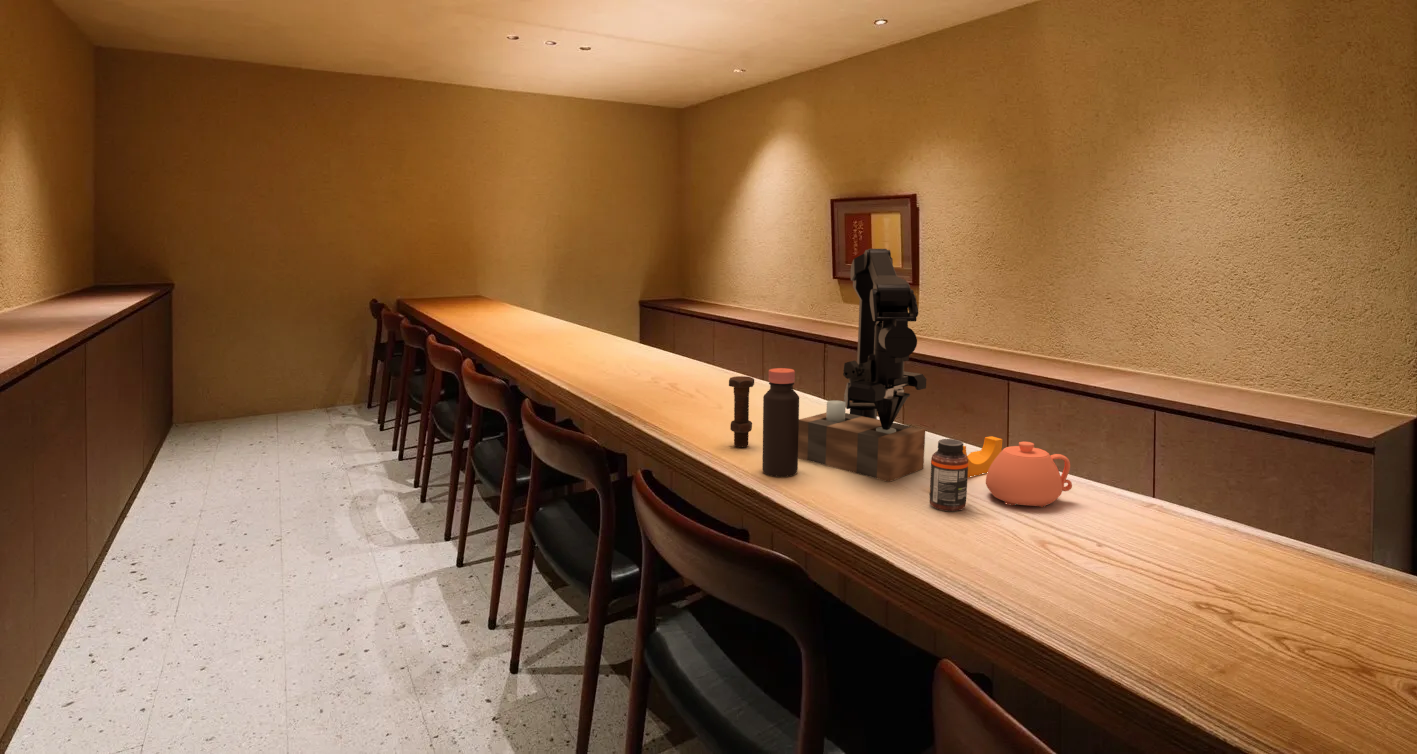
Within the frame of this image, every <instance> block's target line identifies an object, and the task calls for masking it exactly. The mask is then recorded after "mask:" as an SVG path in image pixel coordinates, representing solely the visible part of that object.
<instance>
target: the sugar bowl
mask: <svg viewBox="0 0 1417 754" xmlns="http://www.w3.org/2000/svg"><path fill="white" fill-rule="evenodd" d="M1054 460H1063V462H1064V467H1063V470H1062V473H1060V471H1059V468H1058V466H1057V465H1056V463H1055V462H1054ZM1070 469H1071V462H1070V459H1069V458H1068V457H1067V456H1065V455H1064V454H1060V453H1054V454H1051V455H1050V453H1049V452H1047V450H1044V449H1041V448H1039V447H1035V443H1034V442H1030V441H1019V442H1018V445H1012V446H1011V445H1010V446H1007V447H1005V448H1002V451H1001V452H1000V453H999V455H998V456H997V457H996V458H995V460H994V461H993V463H992V464H991V466H990V468H989V470H988V473H987V474H986V477H985V485H986V487H987V490H988V491H990V493H991V494H992V496H993V497H994V498H996V499H998V500H1000V501H1003V502H1004V504H1005V503H1007V504H1011V505H1010V506H1016V505H1015V504H1017V505H1021V506H1033V507H1034V506H1035V507H1038V506H1042V507H1041V508H1044V507H1043V506H1046V507H1047V505H1050V504H1052V503H1053V502H1054V501H1057V500H1058V498H1060V496H1061V495H1062V493H1063V492H1068V491H1071V490H1072V488H1073V484H1072V481H1071V479H1067V477H1068V476H1069V473H1070ZM1065 484H1067V485H1065ZM1007 504H1006V505H1007Z"/></svg>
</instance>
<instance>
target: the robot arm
mask: <svg viewBox="0 0 1417 754" xmlns="http://www.w3.org/2000/svg"><path fill="white" fill-rule="evenodd" d="M891 254H892V252H891V250H890V249H887V248H868V249H865V251H864V252H863V253H862V254H860V255H858V256H856V257H855V258H853V260H852V262H851V264H850V265H851V266H850V276H849V277H850V281H852V288H853V290H854V292H855V293H856V295H857V297H858V298H859V304H858V305H859V306H858V307H859V308H858V329H857V330H858V331H857V355H856V356H857V359H856V360H851V361H847V362H844V365H843V373H842V375H843V377H844V378H845V379H847V380H848V382H846V385H845V390H844V394H843V399H844V400H843V401H844V402H846V408H845V410H846V409H847V410H849V414H853V415H858V416H863V417H868V418H873V419H878V418H879V419H878V420H880V422H881V426H882V429H884V430H889V429H890V427H891V425H892V424H893V423H895V420H896V418H897V416H898V414H899V413H900V411H901V409H902V407H903V406H904V404H905V403H906V401H907V399H908V398H909V397H910V396H911V394H910V393H909V392H905V389H904V387H914V388H915V390H917V391H921V390H924V389H927V378H926V376H925V375H924V374H923V373H919V372H913V371H912V372H910V371H905V362H908V361H910V355H911V354H913V353H914V352H915V350H916V349H917V346H918V345H917V344H918V338H917V335H916V333H915V331H914V330H913V329H911V328H910V327H909V322H913V323H915V322H917V318H918V316H919V312H920V311H919V307H918V301H917V297H916V295H915V292H914V290H913V288H911V285H910V284H909V282H908V281H907V280H906V279H904V278H901V277H898V275H897V272H896V270H895V267H894V262H893V257H892V255H891Z"/></svg>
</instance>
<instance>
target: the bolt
mask: <svg viewBox="0 0 1417 754" xmlns="http://www.w3.org/2000/svg"><path fill="white" fill-rule="evenodd" d="M754 385H755V378H754V377H751V376H745V375H744V376H743V375H741V376H738V375H737V376H732V377H729V380H728V387H731V388H732V387H733V395H734V396H733V404H734V405H733V406H734V407H733V417H734V419H733V420H732V421H731V422H730V427H729V428H730V431H731V432H733V446H734V447H735V448H747V447H749V438H750V437H749V433H750V432H751V431H752V429H753V422H752V421H751V420H749V418H750V417H749V416H750V414H749V413H750V410H749V409H750V408H749V406H750V403H749V402H750V401H749V400H750V388H753V387H754Z"/></svg>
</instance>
